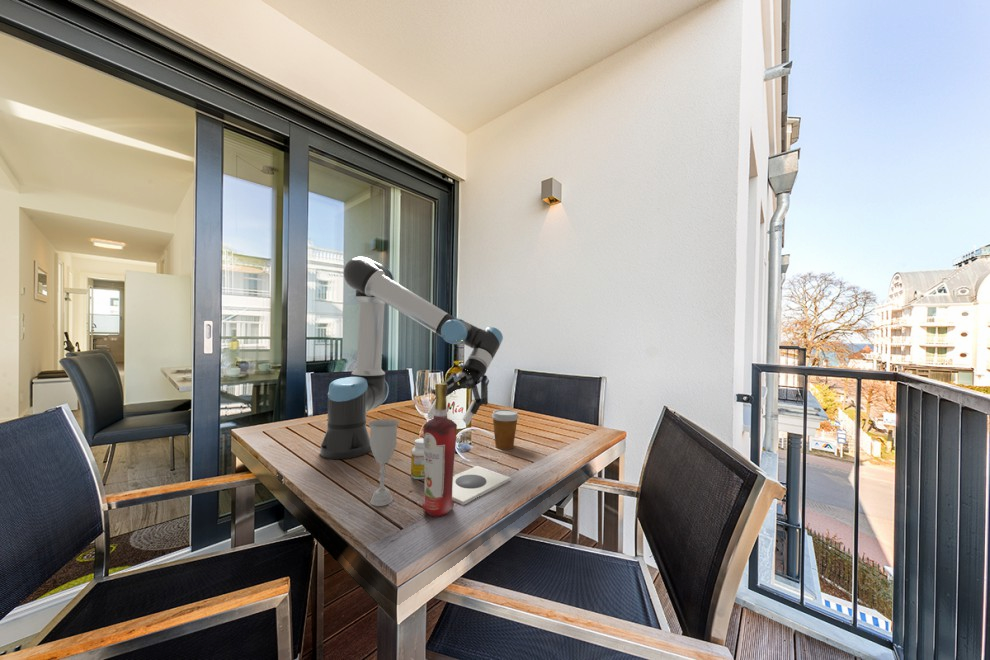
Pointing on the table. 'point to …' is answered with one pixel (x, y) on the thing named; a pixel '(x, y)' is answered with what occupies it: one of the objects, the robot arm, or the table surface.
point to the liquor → (439, 457)
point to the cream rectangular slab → (475, 483)
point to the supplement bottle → (418, 459)
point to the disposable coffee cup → (504, 428)
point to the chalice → (382, 454)
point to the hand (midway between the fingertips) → (447, 418)
